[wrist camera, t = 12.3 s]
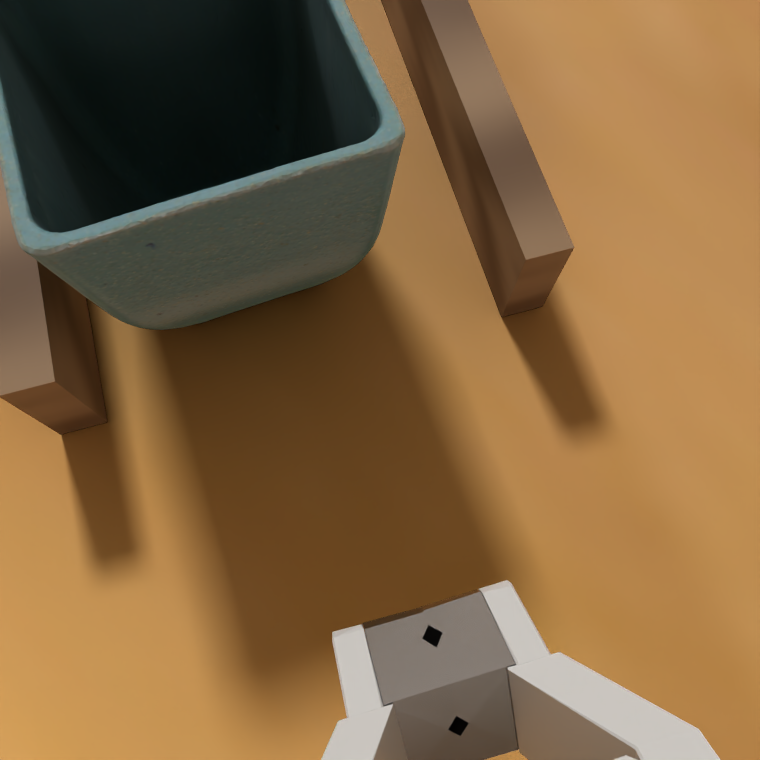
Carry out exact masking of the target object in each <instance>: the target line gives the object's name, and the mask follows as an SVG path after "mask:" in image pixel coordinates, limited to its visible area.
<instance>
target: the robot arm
mask: <svg viewBox="0 0 760 760" xmlns="http://www.w3.org/2000/svg"><path fill="white" fill-rule="evenodd" d="M363 626H364V628H363ZM364 630H365V632H364ZM365 634H366V635H365ZM366 638H367V639H366ZM332 642H333V647H334V652H335V658H336V663H337V668H338V673H339V679H340V684H341V689H342V694H343V699H344V705H345V710H346V715H347V718H345V719H342V720H339V721H338V722H337V724H336V727H335V729H334V731H333V733H332V736H331V738H330V740H329V743H328V745H327V747H326V749H325V752H324V754H323V756H322V759H321V760H484V759H487V758H491V757H494V756H498V755H501V754H505V753H508V752H511V751H515V750H518V749H519V752H520V753H521V754H522V755H523V756H525V757H526V758H527V759H528V760H720V758H719V757H718V756H717V754H716V753H715V751H714V750H713V749H712V747H711V746H710V744H709V743H708V741H707V740H706V739H705V737H704V736H703V734H702V733H701V731H700V730H699V729H698V728H696V727H694V726H692V725H690V724H689V723H687V722H685V721H683V720H681V719H680V718H678V717H676V716H674V715H672V714H671V713H669V712H667V711H665V710H663V709H662V708H660V707H658V706H656V705H654V704H653V703H651V702H649V701H647V700H645V699H644V698H642V697H640V696H638V695H636V694H635V693H633V692H631V691H629V690H627V689H626V688H624V687H622V686H620V685H618V684H617V683H615V682H613V681H611V680H609V679H608V678H606V677H604V676H602V675H600V674H599V673H597V672H595V671H593V670H591V669H590V668H588V667H586V666H584V665H582V664H581V663H579V662H577V661H575V660H573V659H572V658H570V657H568V656H566V655H564V654H563V653H561V652H558V653H554V654H550V652H549V650H548V648H547V646H546V645H545V643H544V641H543V639H542V637H541V636H540V634H539V632H538V630H537V628H536V627H535V625H534V623H533V621H532V619H531V617H530V616H529V614H528V612H527V610H526V608H525V607H524V605H523V603H522V601H521V599H520V598H519V596H518V594H517V592H516V590H515V589H514V587H513V585H512V583H510V582H509V581H508V580H506V581H502V582H499V583H496V584H493V585H489V586H486V587H483V588H480V589H479V590H477V589H476V590H473V591H470V592H467V593H463V594H460V595H457V596H454V597H451V598H447V599H444V600H441V601H438V602H434V603H431V604H428V605H425V606H421V607H420V608H416V609H413V610H409V611H405V612H402V613H398V614H394V615H391V616H387V617H383V618H379V619H376V620H372V621H368V622H365V623H363V625H362V624H360V625H356V626H352V627H349V628H345V629H341V630H338V631H334V632H332ZM367 642H368V643H367Z"/></svg>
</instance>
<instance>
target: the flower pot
mask: <svg viewBox="0 0 760 760" xmlns="http://www.w3.org/2000/svg"><path fill="white" fill-rule="evenodd" d="M404 137H405V128H404V125H403V122H402V119H401V117H400V115H399V113H398V109H397V107H396V105H395V103H394V102H393V100H392V98H391V96H390V94H389V92H388V89H387V87H386V84H385V83H384V81H383V80H382V78H381V75H380V73H379V71H378V69H377V66H376V64H375V63H374V60H373V58H372V57H371V55H370V54H369V51H368V48H367V47H366V45H365V43H364V41H363V39H362V37H361V34H360V32H359V30H358V28H357V26H356V24H355V22H354V20H353V18H352V15H351V14H350V11H349V9H348V7H347V5H346V3H345V0H0V167H1V172H2V177H3V180H4V186H5V190H6V197H7V202H8V206H9V210H10V215H11V223H12V225H13V229H14V232H15V235H16V238H17V241H18V244H19V245H20V247H21V248H22V250H23V251H24V252H26V253H27V254H29V255H30V256H32V257H33V258H34V259H36V260H37V261H38V262H40V263H41V264H42V265H44V266H45V267H46V268H48V269H49V270H50V271H52V272H53V273H54V274H56V275H57V276H58V277H60V278H61V279H62V280H64V281H65V282H66V283H68V284H69V285H70V286H72V287H73V288H74V289H75V290H77V291H78V292H79V293H81V294H82V295H83V296H85V297H86V298H87V299H89V300H90V301H92V302H93V303H94V304H96V305H97V306H99V307H100V308H101V309H103V310H104V311H106V312H107V313H109V314H110V315H112V316H113V317H115V318H117V319H119V320H120V321H122V322H125V323H127V324H130V325H133V326H136V327H139V328H145V329H155V330H164V329H175V328H181V327H186V326H190V325H194V324H199V323H203V322H206V321H209V320H212V319H215V318H218V317H221V316H224V315H227V314H230V313H233V312H236V311H239V310H242V309H245V308H248V307H251V306H254V305H257V304H260V303H263V302H266V301H269V300H272V299H275V298H278V297H281V296H284V295H288V294H291V293H294V292H297V291H301V290H304V289H307V288H310V287H313V286H316V285H319V284H322V283H324V282H327V281H329V280H331V279H333V278H336V277H338V276H340V275H342V274H344V273H346V272H347V271H349V270H350V269H352V268H353V267H354V266H356V265H357V264H358V263H359V262H360V261H361V260H362V259H363V258H364V257H365V256H366V255H367V253H368V252H369V251H370V250H371V248H372V247H373V245H374V243H375V241H376V239H377V237H378V235H379V232H380V229H381V226H382V223H383V219H384V215H385V211H386V208H387V204H388V200H389V196H390V192H391V188H392V184H393V180H394V176H395V172H396V167H397V163H398V159H399V155H400V151H401V147H402V143H403V140H404Z"/></svg>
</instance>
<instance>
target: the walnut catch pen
mask: <svg viewBox="0 0 760 760" xmlns="http://www.w3.org/2000/svg"><path fill="white" fill-rule="evenodd" d="M381 1H382V4H383V6H384V9H385V12H386V14H387V17H388V19H389V22H390V25H391V27H392V30H393V33H394V35H395V38H396V41H397V43H398V46H399V48H400V51H401V54H402V56H403V59H404V62H405V64H406V67H407V70H408V72H409V75H410V77H411V80H412V83H413V85H414V88H415V91H416V93H417V96H418V98H419V101H420V104H421V106H422V109H423V112H424V114H425V117H426V120H427V122H428V125H429V127H430V130H431V133H432V135H433V138H434V141H435V143H436V146H437V149H438V151H439V154H440V156H441V159H442V162H443V164H444V167H445V170H446V172H447V175H448V178H449V180H450V183H451V185H452V188H453V191H454V193H455V196H456V199H457V201H458V204H459V207H460V209H461V212H462V214H463V217H464V220H465V222H466V225H467V228H468V230H469V233H470V235H471V238H472V241H473V243H474V246H475V249H476V251H477V254H478V257H479V259H480V262H481V264H482V267H483V270H484V272H485V275H486V278H487V280H488V283H489V286H490V288H491V291H492V293H493V296H494V299H495V301H496V304H497V307H498V309H499V312H500V315H501V317H504V316H508V315H512V314H515V313H519V312H523V311H527V310H530V309H534V308H538V307H542V306H543V304H544V303H545V301H546V299H547V297H548V295H549V293H550V291H551V290H552V288H553V286H554V284H555V282H556V280H557V278H558V277H559V275H560V273H561V271H562V269H563V267H564V265H565V264H566V262H567V260H568V258H569V256H570V254H571V252H572V251H573V249H574V246H573V243H572V241H571V239H570V236H569V234H568V232H567V229H566V227H565V225H564V223H563V220H562V218H561V216H560V213H559V211H558V209H557V206H556V204H555V202H554V199H553V197H552V195H551V192H550V190H549V188H548V185H547V183H546V181H545V179H544V176H543V174H542V172H541V169H540V167H539V165H538V162H537V160H536V158H535V155H534V153H533V151H532V148H531V146H530V144H529V141H528V139H527V137H526V134H525V132H524V130H523V128H522V125H521V123H520V121H519V118H518V116H517V114H516V111H515V109H514V107H513V104H512V102H511V100H510V97H509V95H508V93H507V90H506V88H505V86H504V84H503V81H502V79H501V77H500V74H499V72H498V70H497V67H496V65H495V63H494V60H493V58H492V56H491V53H490V51H489V49H488V46H487V44H486V42H485V40H484V37H483V35H482V33H481V30H480V28H479V26H478V23H477V21H476V19H475V16H474V14H473V12H472V9H471V7H470V5H469V2H468V0H381ZM0 397H1V398H2V399H4V400H5V401H7V402H9V403H10V404H12V405H13V406H15V407H17V408H18V409H20V410H22V411H23V412H25V413H26V414H28V415H30V416H31V417H33V418H35V419H36V420H38V421H39V422H41V423H43V424H44V425H46V426H48V427H49V428H51V429H52V430H54V431H56V432H57V433H59V434H64V433H68V432H72V431H76V430H80V429H83V428H87V427H91V426H95V425H98V424H102V423H106V422H107V417H106V411H105V405H104V399H103V393H102V387H101V382H100V376H99V370H98V364H97V358H96V352H95V346H94V341H93V335H92V329H91V323H90V317H89V311H88V305H87V300H86V297H85V296H83V295H82V294H81V293H79V292H78V291H77V290H75V289H74V288H73V287H72V286H70V285H69V284H68V283H66V282H65V281H64V280H62V279H61V278H60V277H58V276H57V275H56V274H54V273H53V272H52V271H50V270H49V269H48V268H46V267H45V266H44V265H42V264H41V263H40V262H38V261H37V260H36V259H34V258H33V257H32V256H30V255H29V254H27V253H26V252H24V251H23V250H22V248H21V247H20V245H19V244H18V241H17V238H16V235H15V232H14V229H13V225H12V223H11V215H10V210H9V206H8V202H7V197H6V190H5V186H4V180H3V177H2V172H1V167H0Z"/></svg>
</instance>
